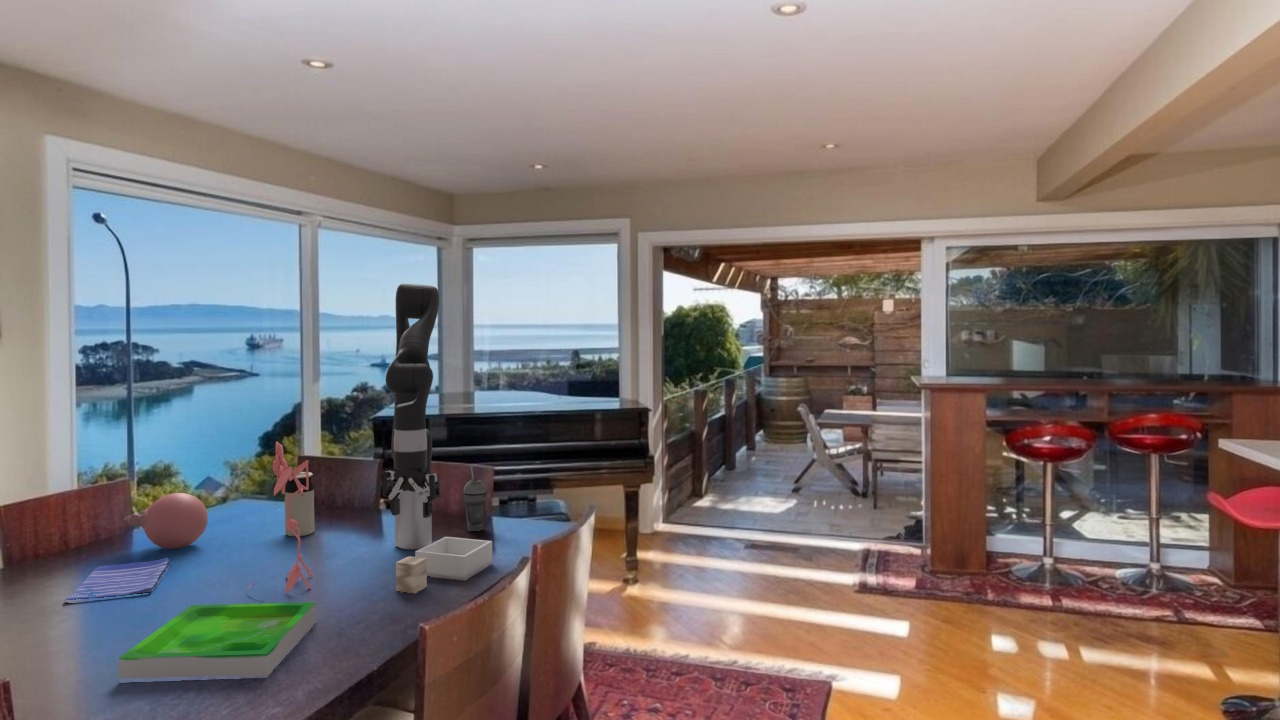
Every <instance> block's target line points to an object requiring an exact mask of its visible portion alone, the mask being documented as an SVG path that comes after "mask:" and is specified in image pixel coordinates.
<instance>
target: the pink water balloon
mask: <svg viewBox="0 0 1280 720" xmlns="http://www.w3.org/2000/svg"><path fill="white" fill-rule="evenodd" d="M123 521H124V522H128V523H129V524H130V525H132V526H133V527H140V528H142V529H143V530H144V533H145V536H146V537H147V539H148V540H149V541H150V542H151V543H152V544H154V545H155V546H157V547H160V548H163V549H169V550H174V549H176V550H177V549H182V548H185V547H188V546H189V545H192V544H194V543H195V542H196V541H197V540H198V539H199V538H201V536H202V535H203V534H204V532H205V530H206V528H207V525H208V522H209V516H208V510H207V508H206V506H205V504H204V503H203V502H202V500H201V499H199V498H198V497H197V496H194V495H192V494H189V493H184V492H175V493H169V494H165V495H163V496H160V497H159V498H158V499H157V500H155V501H154V502H152V504H151V505H150V506H148V507H146V508H145V509H142V510H141V511H139V512H137V513H132V514H131V515H128V516H125V517H123Z"/></svg>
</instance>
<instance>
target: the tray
mask: <svg viewBox="0 0 1280 720" xmlns="http://www.w3.org/2000/svg"><path fill="white" fill-rule="evenodd" d="M315 623H316V624H317V601H308V602H270V603H266V602H265V603H234V604H233V603H228V604H227V603H225V604H193V605H190V606H189V607H187V608H186V609H185V610H183V611H182V612H181V613H179V614H177V615H176V616H175V617H174V618H173V619H171V620H170V621H168V622H167V623H166V624H164V625H162V626H161V627H160V628H157V630H155V631H154V632H152V633H151V634H150V635H149V636H147V637H146V638H144V639H143V640H142V641H140V642H139V643H137V644H136V645H134V647H133V646H132V648H130V649H129V650H128V651H127V652H125V653H123V654H122V655H121V656H120V657H118V663H117V666H118V679H119V678H123V679H124V678H157V677H159V678H161V677H192V676H193V677H201V676H268V675H269V674H270V673H271V672H272V670H273V669H274V668H275V667H276V666H277V665H278V664H279V663H280V662H281V661H282V659H283V658H284V657H285V656H286V655H287V654H288V653H289V652H290V650H291V649H292V648H293V647H294V646H295V645H296V644H297V643H298V642H299V640H300V639H301V638H302V637H303V636H304V635H305V634H306V633H307V632H308V631H309V630H310V629H311V627H312V628H314V626H315V625H316V624H315ZM314 624H315V625H314ZM313 625H314V626H313ZM311 630H312V629H311ZM311 630H310V631H311ZM310 631H309V632H310ZM309 632H308V633H309ZM308 633H307V634H308ZM307 634H306V635H307ZM306 635H305V636H306ZM305 636H304V637H305ZM299 643H300V642H299ZM299 643H298V644H299ZM298 644H297V645H298ZM290 653H291V652H290ZM282 662H283V661H282Z"/></svg>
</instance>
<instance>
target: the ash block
mask: <svg viewBox="0 0 1280 720" xmlns="http://www.w3.org/2000/svg"><path fill="white" fill-rule="evenodd" d="M427 577H428V576H427V558H420V557H415V556H411V555H410V556H406V557H404V558H402V559H400V560H398V561H395V581H396V582H395V583H396V585H395V588H396V589H395V591H401V592H400V593H403V592H407V593H406V594H411V593H414V594H413V595H415V594H417V593H419V592H421V591H422V590H424V589H426V588H427V587H428V586H427V583H428V581H427V579H428V578H427ZM425 587H426V588H425ZM418 591H419V592H418Z"/></svg>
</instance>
